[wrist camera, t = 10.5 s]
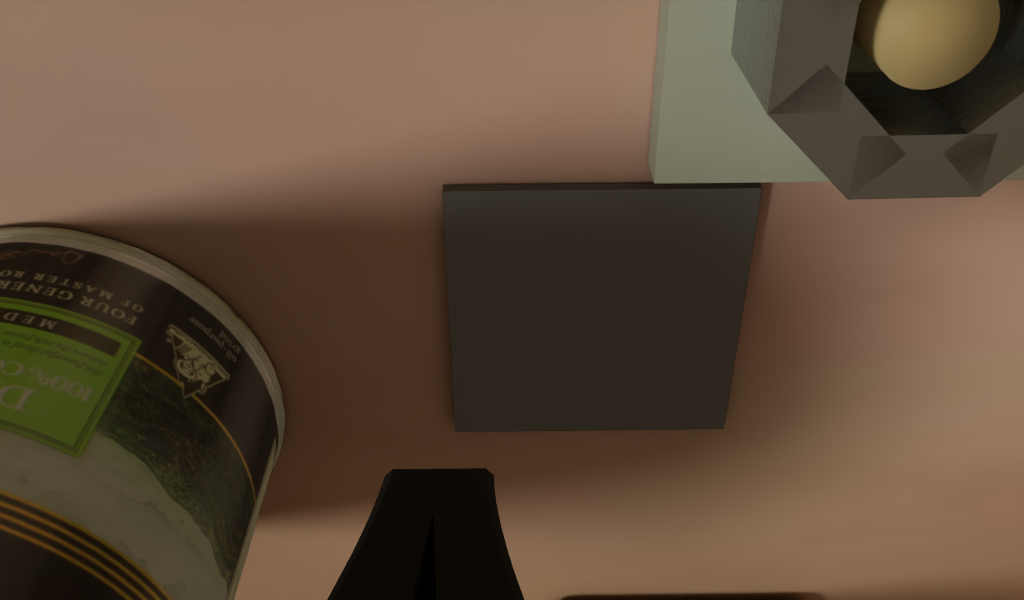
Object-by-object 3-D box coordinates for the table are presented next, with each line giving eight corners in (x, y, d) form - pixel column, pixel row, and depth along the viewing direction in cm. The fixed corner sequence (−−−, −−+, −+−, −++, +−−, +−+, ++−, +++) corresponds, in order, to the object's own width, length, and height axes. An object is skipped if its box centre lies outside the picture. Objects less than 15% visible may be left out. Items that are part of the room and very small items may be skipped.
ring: (998, 125, 19) (1072, 194, 17) (721, 131, 19) (754, 201, 17) (1086, -183, 16) (1194, -155, 13) (756, -175, 16) (803, -146, 14)
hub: (1012, 158, 21) (1096, 239, 18) (647, 162, 21) (671, 244, 18) (1148, -267, 16) (1290, -252, 13) (682, -263, 16) (722, -248, 13)
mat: (721, 421, 25) (723, 428, 25) (455, 424, 25) (455, 431, 25) (758, 181, 21) (762, 188, 21) (442, 185, 21) (442, 191, 21)
